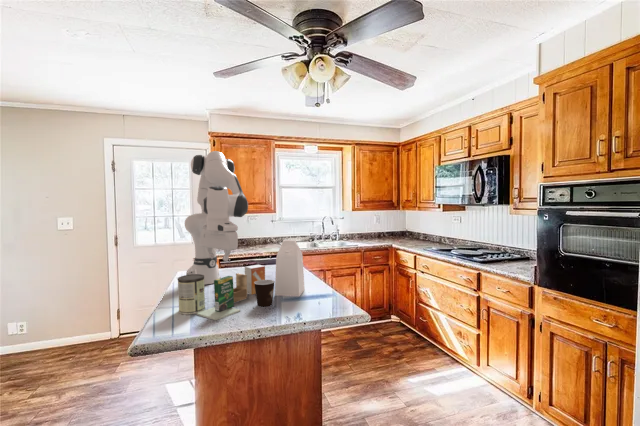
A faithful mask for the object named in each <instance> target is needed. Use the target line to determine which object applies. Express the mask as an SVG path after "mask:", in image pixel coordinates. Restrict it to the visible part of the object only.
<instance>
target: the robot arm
mask: <svg viewBox="0 0 640 426" xmlns="http://www.w3.org/2000/svg"><path fill="white" fill-rule="evenodd" d="M190 168H191V172H192V174H195V175H197V176H200V179H199V183H198V191H197V197H196V200H197V204H198V205H200V209H201V213H200V212H199V213H193V214H191V215H188V216H187V217H186V218H185V221H184V228H185V229H186V231H187V232H188V233H189V234H190V235H191V238H192V239H193V243H194V244H193V245H194V252H195V253H194V255H195V256H194V257H193V258H192V260H193V264H192V265H191V266H190V267H189V268H188V269H187V270H186V274H185V275H191V274H201V275H204V286H205V285H211V284H213V285H214V280H216V279H220V278H222V277H221V276H220V271H219V265H218V256H217V250H223V252H224V255H223V256H222V261H223V262H227V261H229V259H230V258H229V256H230V255H231V252H232V251H236V250H237V249H238V247H239V236H238V233H237V232H238V229H239V228H238V225H237V224H235V223H234V222H232V221H230V218H231V217H235V218H243V216H245V215H246V214H247V213H248V211H249V202H248V200H247V199H248V198H247V197H246V196H245V194H244V191H243V189H242V187H241V184H240V181H239V180H238V176H237V175H236V174H235V170H236V169H235V162H234V161H233V160H231V159H229V158H226V156H225V155H224V154H223V152H220V151H217V150H214V151H212V150H211V151H210V152H208V153H207V155H202V154H197V155H194V156H193V158H192V159H191V161H190ZM229 190H230V191H231V193H232V194H229Z"/></svg>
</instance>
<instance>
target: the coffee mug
mask: <svg viewBox="0 0 640 426" xmlns="http://www.w3.org/2000/svg"><path fill="white" fill-rule="evenodd" d="M254 284H255V291H256V294H255V296H256V297H255V299H256V304H257V305H256V306H257V307H259V308H269V307H271V306H273V302H274V301H273V299H274V293H275V280H273V279H265V280H258V281H255V282H254Z"/></svg>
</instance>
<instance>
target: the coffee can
mask: <svg viewBox="0 0 640 426" xmlns="http://www.w3.org/2000/svg"><path fill="white" fill-rule="evenodd" d="M177 288H178V289H177V292H178V293H177V294H178V295H177V296H178V313H179V314H180V315H186V316H187V315H188V316H189V315H195V314H196V313H198V312H201V311H204V310H206V303H205V302H206V300H205V297H206V296H205V285H204V275H201V274H191V275H186V274H184V275H181V276H179V277H177Z"/></svg>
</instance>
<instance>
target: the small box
mask: <svg viewBox="0 0 640 426" xmlns="http://www.w3.org/2000/svg"><path fill="white" fill-rule="evenodd" d="M244 275H247V295H251V296H253V295H256V291H255V284H254V282H255V281H258V280H266V266H265V265H261V264H254V265H248V266H244Z"/></svg>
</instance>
